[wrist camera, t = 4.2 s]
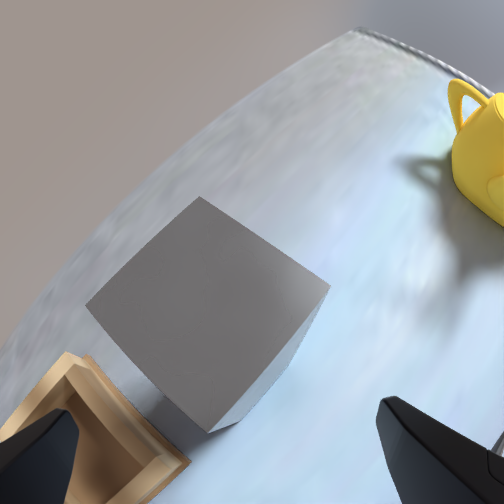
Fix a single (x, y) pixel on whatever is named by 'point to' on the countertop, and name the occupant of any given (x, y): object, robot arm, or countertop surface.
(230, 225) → the post
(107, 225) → the countertop surface
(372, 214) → the countertop surface
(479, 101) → the teapot
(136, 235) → the countertop surface
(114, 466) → the dock
